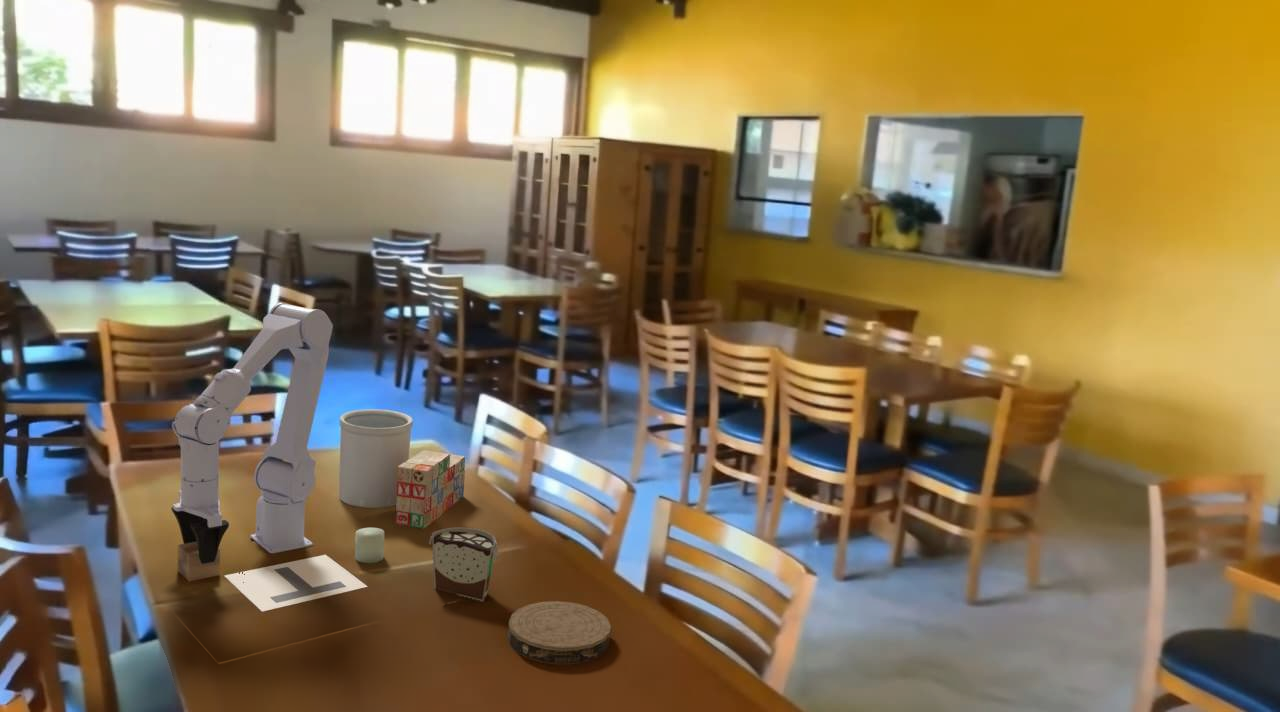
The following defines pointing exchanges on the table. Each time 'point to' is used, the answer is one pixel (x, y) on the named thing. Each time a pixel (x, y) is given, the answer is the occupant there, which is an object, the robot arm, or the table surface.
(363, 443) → the utensil holder
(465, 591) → the food container
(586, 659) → the beige round flat disc
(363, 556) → the sage cylinder
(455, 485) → the stack of blocks
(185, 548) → the wooden cube
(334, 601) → the table surface
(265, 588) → the board
